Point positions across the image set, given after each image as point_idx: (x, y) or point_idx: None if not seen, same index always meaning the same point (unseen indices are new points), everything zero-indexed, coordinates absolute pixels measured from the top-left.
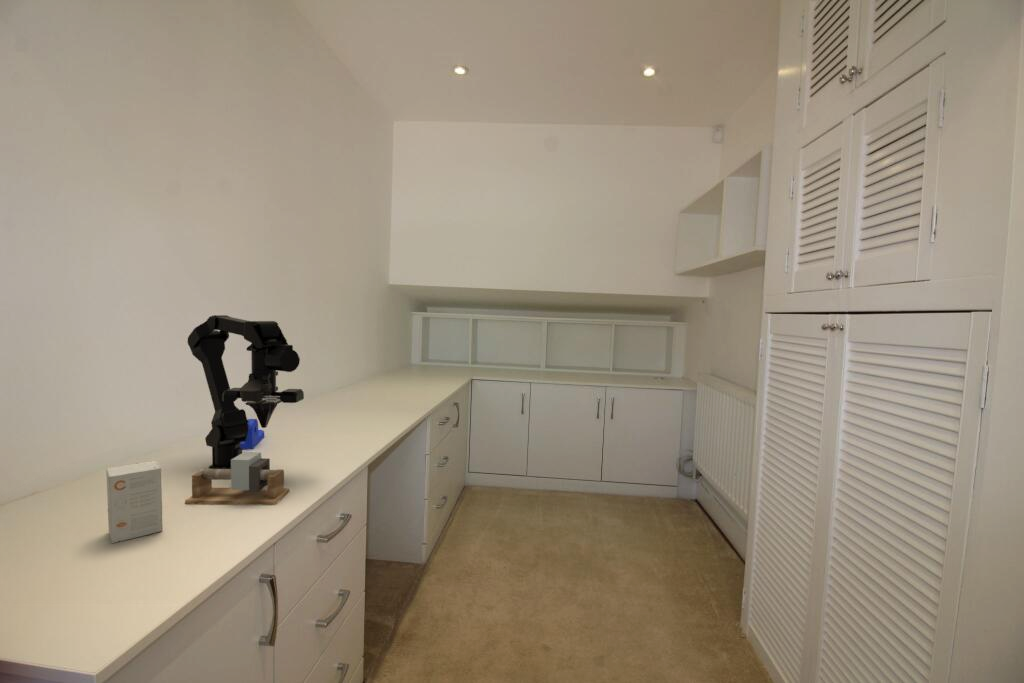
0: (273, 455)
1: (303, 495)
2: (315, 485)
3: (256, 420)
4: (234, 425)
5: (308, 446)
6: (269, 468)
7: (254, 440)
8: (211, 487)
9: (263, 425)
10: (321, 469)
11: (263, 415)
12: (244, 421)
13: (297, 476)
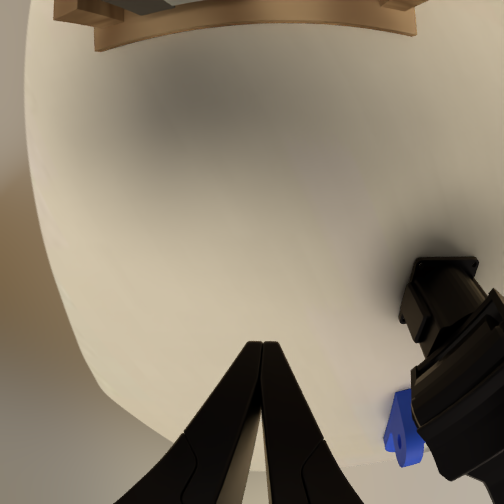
0: (328, 368)
1: (55, 43)
2: (57, 124)
3: (400, 463)
4: (475, 386)
5: None
6: (110, 2)
7: (396, 416)
8: (383, 2)
9: (257, 355)
10: (116, 264)
11: (231, 446)
12: (435, 427)
13: (147, 194)
